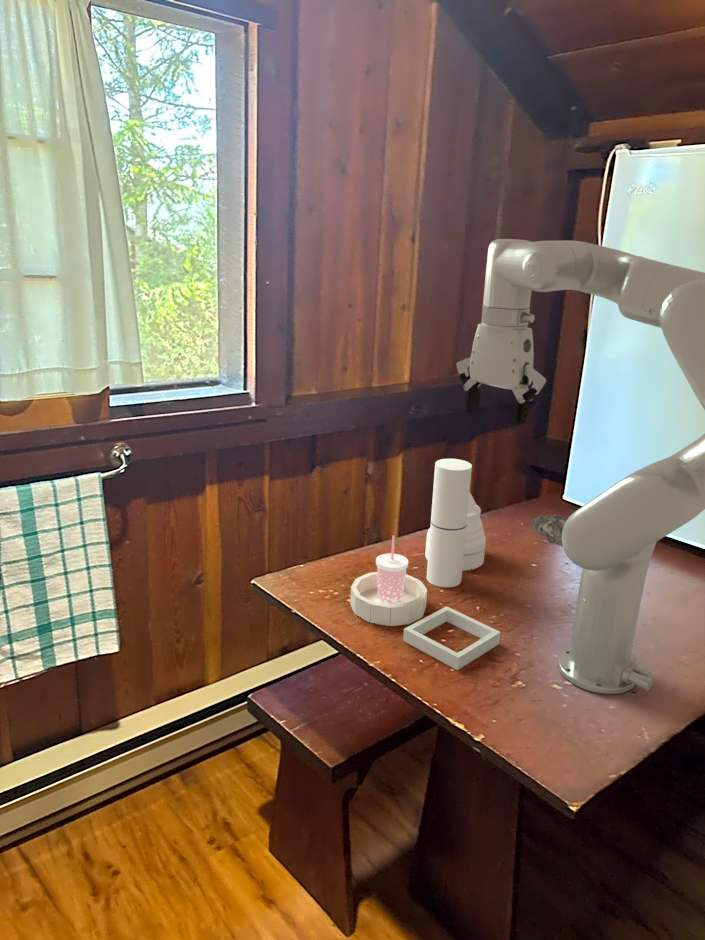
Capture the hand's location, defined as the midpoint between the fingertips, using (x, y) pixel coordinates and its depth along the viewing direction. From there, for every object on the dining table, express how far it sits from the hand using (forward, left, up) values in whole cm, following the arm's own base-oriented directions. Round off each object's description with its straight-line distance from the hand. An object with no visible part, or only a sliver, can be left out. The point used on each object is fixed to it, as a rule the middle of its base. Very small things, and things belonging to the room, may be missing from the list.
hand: (494, 418), depth 129 cm
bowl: (+13, +10, -38) cm, 42 cm away
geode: (+8, -47, -39) cm, 62 cm away
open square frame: (-3, +11, -38) cm, 40 cm away
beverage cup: (+13, +10, -38) cm, 41 cm away
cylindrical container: (+13, -7, -38) cm, 41 cm away
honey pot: (+18, -17, -39) cm, 46 cm away
